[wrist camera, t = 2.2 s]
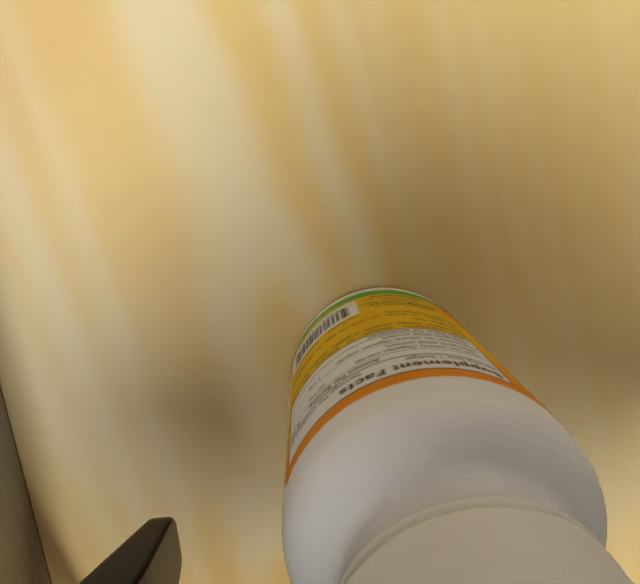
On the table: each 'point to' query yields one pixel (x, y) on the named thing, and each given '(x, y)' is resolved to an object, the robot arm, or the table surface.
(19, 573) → the compartment organizer tray
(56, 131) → the table surface
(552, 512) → the supplement bottle
